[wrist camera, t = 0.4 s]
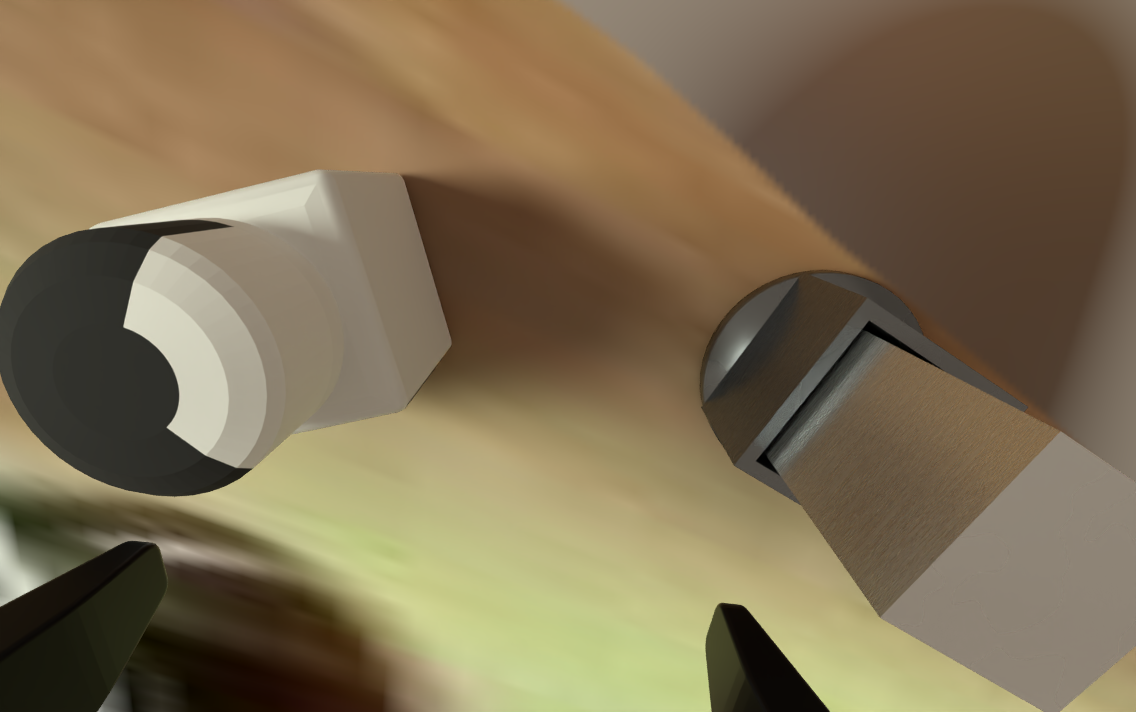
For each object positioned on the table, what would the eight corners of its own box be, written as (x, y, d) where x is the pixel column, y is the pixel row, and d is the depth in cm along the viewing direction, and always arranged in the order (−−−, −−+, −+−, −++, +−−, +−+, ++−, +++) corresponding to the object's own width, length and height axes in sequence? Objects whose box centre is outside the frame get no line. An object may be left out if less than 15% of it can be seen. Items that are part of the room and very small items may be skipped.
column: (824, 462, 24) (1052, 719, 13) (727, 402, 23) (876, 617, 12) (906, 365, 23) (1245, 553, 11) (806, 299, 22) (1060, 427, 10)
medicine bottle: (294, 381, 24) (41, 563, 13) (229, 213, 22) (-144, 247, 11) (455, 346, 24) (343, 503, 12) (404, 170, 22) (209, 158, 10)
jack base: (822, 506, 26) (890, 596, 20) (657, 408, 24) (682, 475, 19) (962, 344, 23) (1084, 395, 18) (790, 226, 22) (863, 241, 16)
